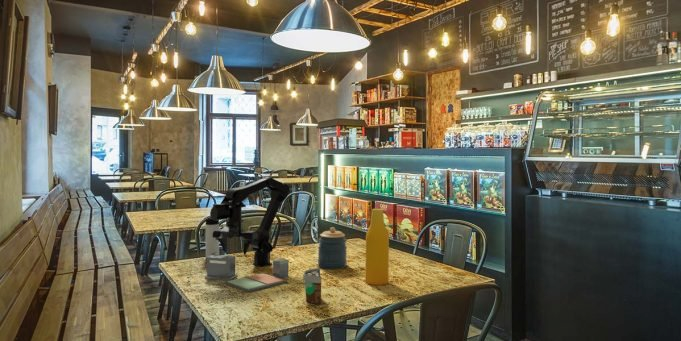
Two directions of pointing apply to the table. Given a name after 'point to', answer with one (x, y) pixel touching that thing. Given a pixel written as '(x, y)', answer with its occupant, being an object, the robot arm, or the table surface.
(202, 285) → the table surface
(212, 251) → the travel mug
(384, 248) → the beer bottle
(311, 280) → the food container
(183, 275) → the table surface
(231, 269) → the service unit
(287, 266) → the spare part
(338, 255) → the canister
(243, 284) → the sorting board
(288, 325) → the table surface
